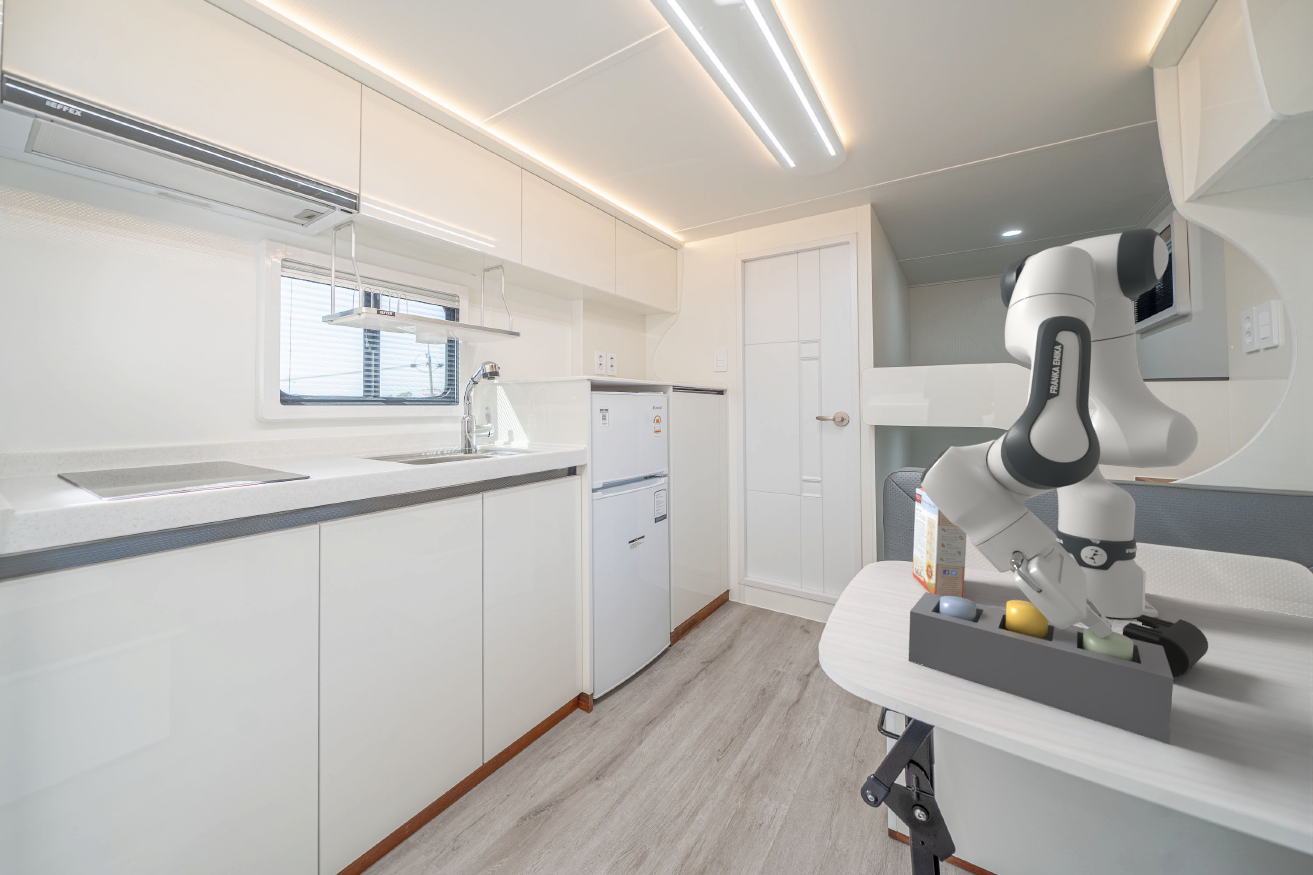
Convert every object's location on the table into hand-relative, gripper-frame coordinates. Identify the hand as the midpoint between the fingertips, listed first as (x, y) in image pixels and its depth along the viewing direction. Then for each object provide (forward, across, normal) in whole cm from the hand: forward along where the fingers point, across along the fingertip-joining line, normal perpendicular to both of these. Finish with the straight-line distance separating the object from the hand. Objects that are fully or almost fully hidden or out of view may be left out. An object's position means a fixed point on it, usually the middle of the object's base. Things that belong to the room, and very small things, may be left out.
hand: (1107, 631), depth 63 cm
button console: (+1, 0, +13) cm, 13 cm away
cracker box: (-11, +32, +26) cm, 42 cm away
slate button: (-9, 0, +15) cm, 17 cm away
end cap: (+12, +18, +2) cm, 22 cm away
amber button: (-4, 0, +8) cm, 9 cm away
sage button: (+3, 0, +3) cm, 4 cm away
